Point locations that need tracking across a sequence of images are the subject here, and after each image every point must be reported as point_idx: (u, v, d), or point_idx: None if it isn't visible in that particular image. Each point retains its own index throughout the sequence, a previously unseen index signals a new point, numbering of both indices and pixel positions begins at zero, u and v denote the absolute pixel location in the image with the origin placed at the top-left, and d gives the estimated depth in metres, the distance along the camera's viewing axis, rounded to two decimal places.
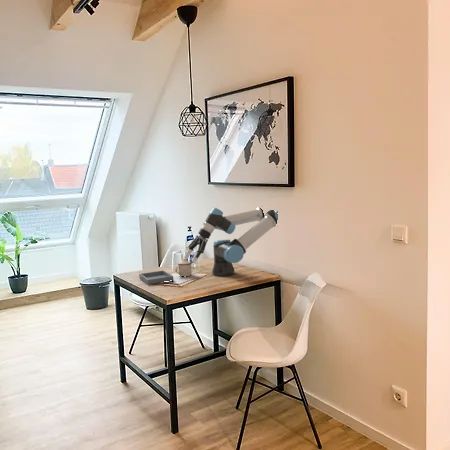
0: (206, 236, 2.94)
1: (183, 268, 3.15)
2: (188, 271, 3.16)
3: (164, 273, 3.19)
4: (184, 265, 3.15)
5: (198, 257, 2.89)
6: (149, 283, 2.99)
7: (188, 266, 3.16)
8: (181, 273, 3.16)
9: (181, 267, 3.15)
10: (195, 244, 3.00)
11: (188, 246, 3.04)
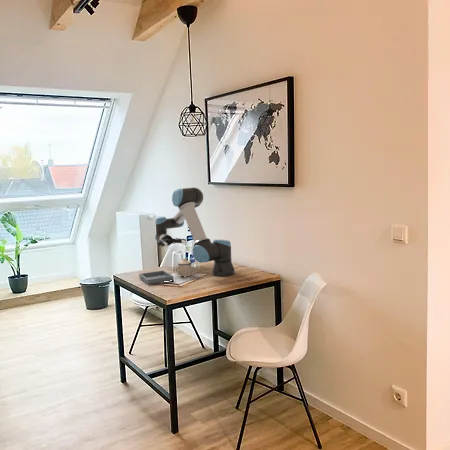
0: (162, 240, 3.40)
1: (183, 268, 3.15)
2: (188, 271, 3.16)
3: (164, 273, 3.19)
4: (184, 265, 3.15)
5: (164, 242, 3.26)
6: (149, 283, 2.99)
7: (188, 266, 3.16)
8: (181, 273, 3.16)
9: (181, 267, 3.15)
10: (176, 241, 3.37)
11: None
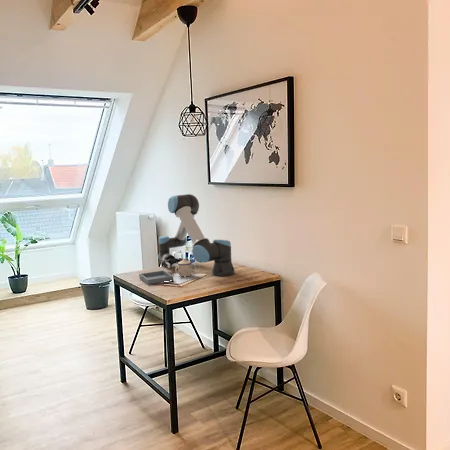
0: (165, 260, 3.39)
1: (183, 268, 3.15)
2: (188, 271, 3.16)
3: (164, 273, 3.19)
4: (184, 265, 3.15)
5: (167, 263, 3.25)
6: (149, 283, 2.99)
7: (188, 266, 3.16)
8: (181, 273, 3.16)
9: (181, 267, 3.15)
10: (179, 261, 3.36)
11: None
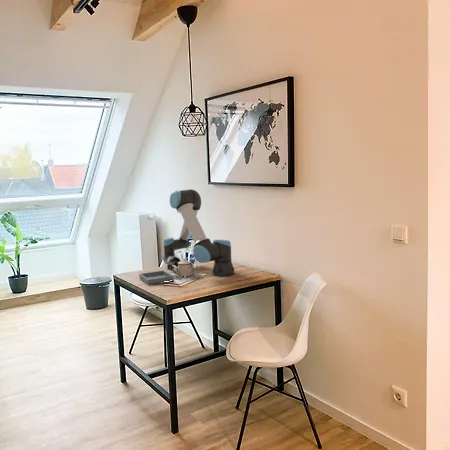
0: (170, 262, 3.30)
1: (183, 268, 3.15)
2: (188, 271, 3.16)
3: (164, 273, 3.19)
4: (184, 265, 3.15)
5: (173, 265, 3.16)
6: (149, 283, 2.99)
7: (188, 266, 3.16)
8: (181, 273, 3.16)
9: (181, 267, 3.15)
10: None
11: None
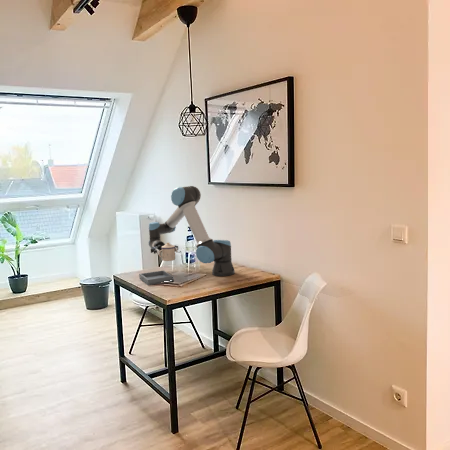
0: (154, 247, 3.26)
1: (166, 252, 3.11)
2: (171, 255, 3.12)
3: (164, 273, 3.19)
4: (167, 249, 3.11)
5: (156, 249, 3.12)
6: (149, 283, 2.99)
7: (171, 250, 3.12)
8: (164, 257, 3.12)
9: (164, 251, 3.11)
10: None
11: None
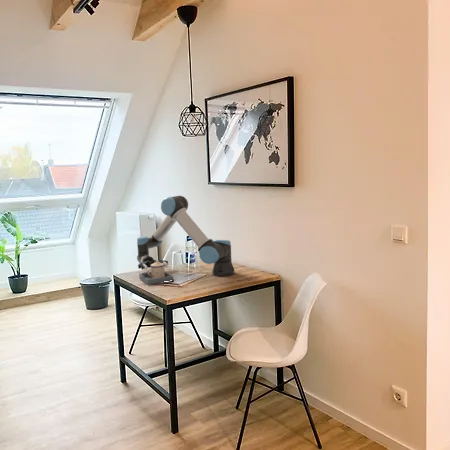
0: (143, 262, 3.22)
1: (156, 270, 3.07)
2: (161, 273, 3.08)
3: None
4: (157, 267, 3.07)
5: (144, 265, 3.08)
6: (149, 283, 2.99)
7: (161, 268, 3.08)
8: (154, 275, 3.08)
9: (153, 269, 3.07)
10: None
11: (166, 264, 3.18)
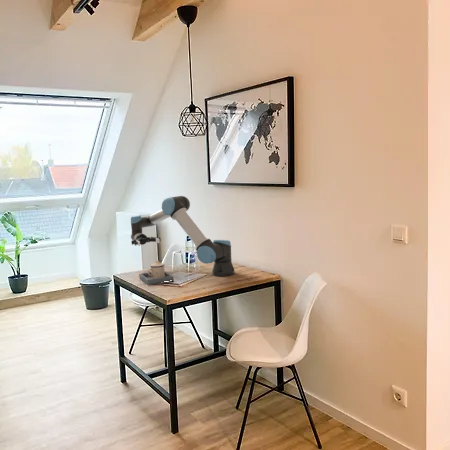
0: (137, 239, 3.32)
1: (156, 270, 3.07)
2: (161, 273, 3.08)
3: None
4: (157, 267, 3.07)
5: (137, 241, 3.18)
6: (149, 283, 2.99)
7: (161, 268, 3.08)
8: (154, 275, 3.08)
9: (153, 269, 3.08)
10: (150, 240, 3.28)
11: (159, 241, 3.28)
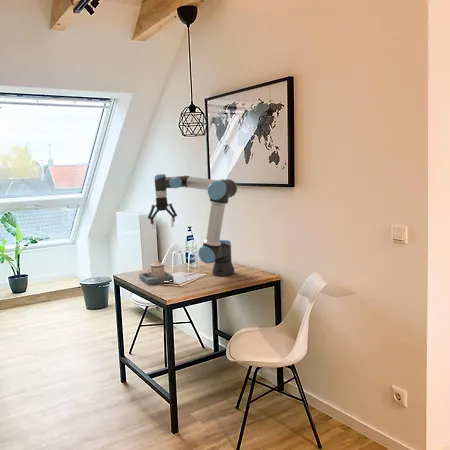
0: (156, 202, 3.22)
1: (156, 270, 3.07)
2: (161, 273, 3.08)
3: None
4: (157, 267, 3.07)
5: (153, 223, 3.22)
6: (149, 283, 2.99)
7: (161, 268, 3.08)
8: (154, 275, 3.08)
9: (153, 269, 3.08)
10: (167, 211, 3.27)
11: None
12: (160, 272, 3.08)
